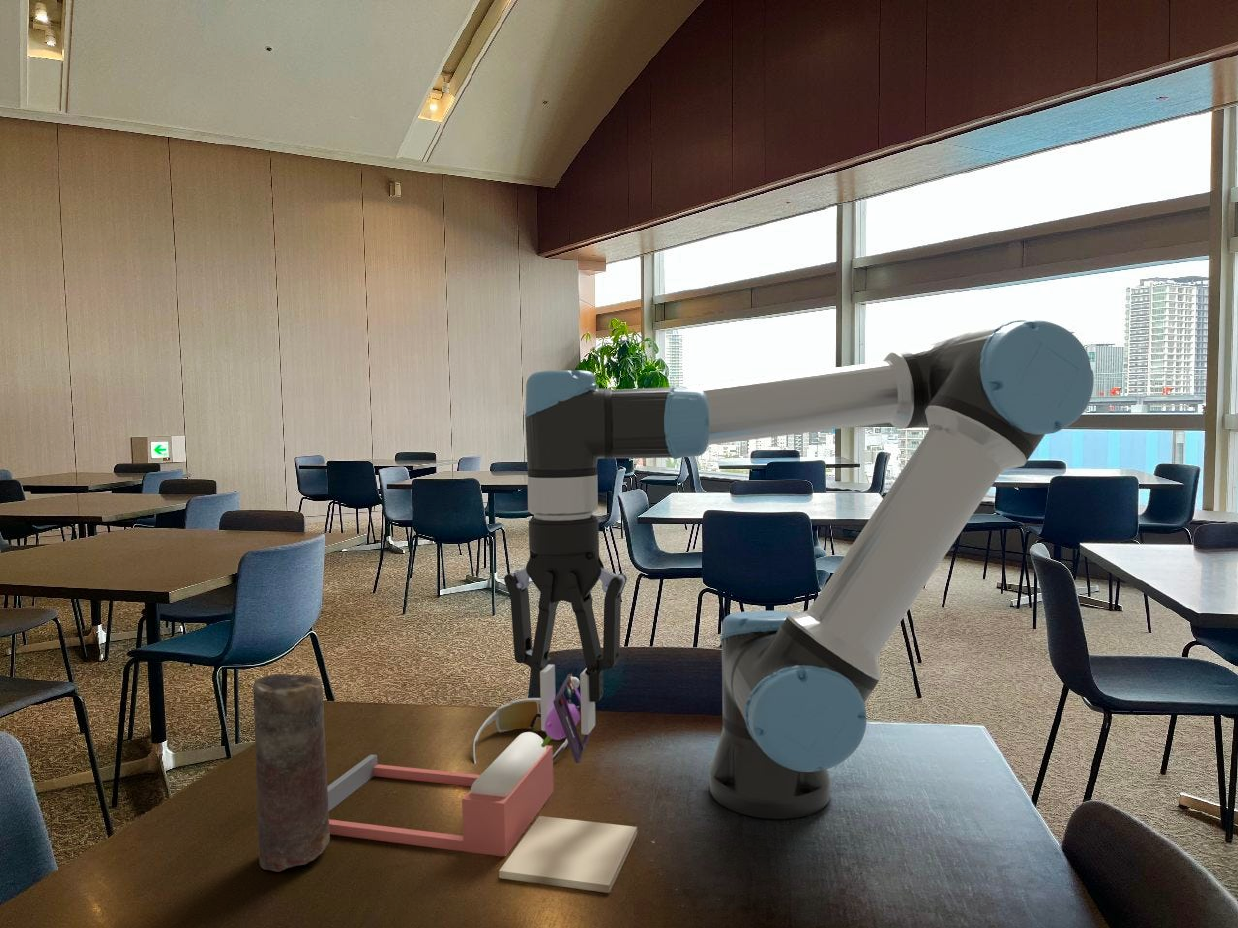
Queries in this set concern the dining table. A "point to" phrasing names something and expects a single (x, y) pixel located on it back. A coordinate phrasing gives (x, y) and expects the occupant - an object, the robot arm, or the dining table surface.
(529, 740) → the frame
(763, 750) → the robot arm
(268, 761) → the brown stone cylinder
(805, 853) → the dining table surface
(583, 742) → the purple toy
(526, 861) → the plate
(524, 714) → the sunglasses
